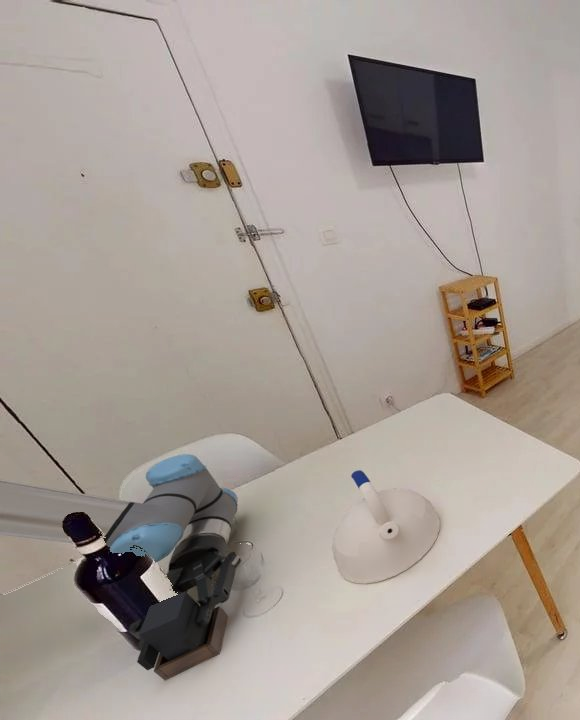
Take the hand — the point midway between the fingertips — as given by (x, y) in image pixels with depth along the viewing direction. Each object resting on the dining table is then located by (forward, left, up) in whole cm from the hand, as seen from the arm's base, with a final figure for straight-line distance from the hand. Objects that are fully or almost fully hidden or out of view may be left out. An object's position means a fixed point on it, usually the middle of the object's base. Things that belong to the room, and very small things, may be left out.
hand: (168, 653), depth 66 cm
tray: (-3, +5, -7) cm, 8 cm away
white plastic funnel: (+22, +24, -7) cm, 33 cm away
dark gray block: (-3, +5, -6) cm, 8 cm away
